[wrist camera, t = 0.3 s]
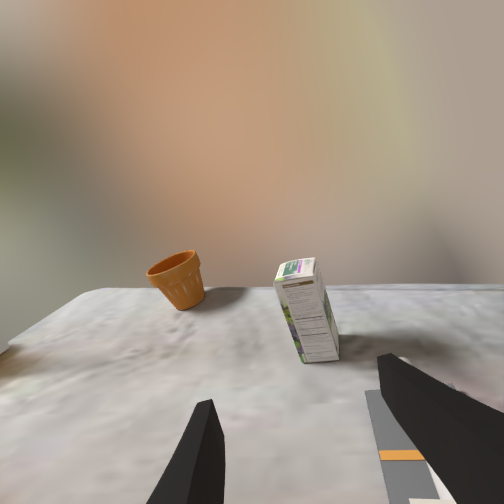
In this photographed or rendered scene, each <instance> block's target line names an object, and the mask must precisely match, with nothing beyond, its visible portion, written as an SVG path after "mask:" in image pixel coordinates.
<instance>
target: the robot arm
mask: <svg viewBox="0 0 504 504" xmlns="http://www.w3.org/2000/svg"><path fill="white" fill-rule="evenodd" d="M377 362H378V371H379V379H380V388H381V396H382V397H383V399H384V401H385V402H386V404H387V406H388V408H389V409H390V411H391V413H392V414H393V416H394V417H395V419H396V421H397V422H398V423H399V425H400V426H401V428H402V429H403V430H404V432H405V433H406V434H407V436H408V437H409V438H410V440H411V441H412V442H413V444H414V445H415V446H416V448H417V449H418V450H419V452H420V453H421V454H422V456H423V457H424V458H425V460H426V461H427V463H428V464H429V465H430V467H431V468H432V469H433V471H434V472H435V473H436V475H437V476H438V477H439V479H440V480H441V481H442V483H443V484H444V486H445V487H446V488H447V490H448V491H449V493H450V494H451V496H452V497H453V499H454V500H455V502H456V503H457V504H504V413H502V412H500V411H498V410H496V409H493V408H491V407H489V406H487V405H485V404H483V403H480V402H478V401H476V400H474V399H472V398H470V397H468V396H466V395H464V394H462V393H460V392H459V391H457V390H455V389H453V388H451V387H449V386H447V385H445V384H444V383H442V382H440V381H438V380H436V379H434V378H433V377H431V376H429V375H427V374H426V373H424V372H422V371H420V370H419V369H417V368H415V367H414V366H412V365H410V364H408V363H407V362H405V361H403V360H402V359H400V358H398V357H397V356H395V355H393V354H391V353H389V354H386V355H382V356H378V357H377ZM224 486H225V442H224V434H223V431H222V428H221V425H220V422H219V419H218V416H217V413H216V410H215V406H214V403H213V400H212V399H210V400H206V401H202V402H198V403H197V405H196V407H195V409H194V411H193V413H192V416H191V418H190V420H189V423H188V425H187V427H186V429H185V431H184V433H183V436H182V438H181V440H180V442H179V444H178V446H177V448H176V450H175V452H174V454H173V456H172V458H171V460H170V462H169V464H168V466H167V467H166V469H165V471H164V473H163V475H162V477H161V478H160V480H159V482H158V484H157V486H156V487H155V489H154V491H153V493H152V494H151V496H150V498H149V499H148V501H147V503H146V504H224Z"/></svg>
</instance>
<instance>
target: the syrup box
mask: <svg viewBox="0 0 504 504" xmlns="http://www.w3.org/2000/svg"><path fill="white" fill-rule="evenodd" d="M273 285H274V288H275V290H276V293H277V296H278V299H279V301H280V304H281V307H282V310H283V312H284V315H285V318H286V321H287V324H288V326H289V329H290V332H291V335H292V337H293V340H294V343H295V346H296V348H297V351H298V354H299V357H300V359H301V362H303V363H309V362H322V361H334V360H339V359H340V356H339V338H338V330H337V327H336V323H335V320H334V316H333V313H332V310H331V306H330V303H329V299H328V296H327V292H326V289H325V286H324V282H323V279H322V276H321V272H320V269H319V266H318V262H317V258H305V259H299V260H294V261H290V262H286V263H283V264H281V265H280V267H279V270H278V273H277V276H276V278H275V281H274V284H273Z"/></svg>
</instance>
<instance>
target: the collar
mask: <svg viewBox="0 0 504 504" xmlns="http://www.w3.org/2000/svg"><path fill="white" fill-rule="evenodd" d="M409 501H410V504H457V503H456V502H455V500H441V499H413V498H409Z"/></svg>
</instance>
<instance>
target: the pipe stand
mask: <svg viewBox="0 0 504 504" xmlns="http://www.w3.org/2000/svg"><path fill="white" fill-rule="evenodd" d="M398 358H400V359H402V360H403V361H405V362H407V363H408V364H410V365H412V363H411V361H410V360H409V359H407V358H405V357H398ZM445 385H447V386H449V387H451V388H453V389H455V387H454V386H453V384H452V383H451V384H445ZM455 390H456V389H455ZM365 395H366V400H367V404H368V409H369V413H370V418H371V422H372V427H373V431H374V435H375V440H376V444H377V449H378V453H379V458H380V462H381V467H382V471H383V476H384V480H385V484H386V489H387V493H388V498H389V502H390V504H410V501H409V498H413V499H441V500H454V499H453V497H452V496H451V494H450V493H449V491H448V490H447V488H446V487H445V486H444V484H443V483H442V481H441V480H440V479H439V477H438V476H437V475H436V473H435V472H434V471H433V469H432V468H431V467H430V465H429V464H428V463H427V461H426V460H425V458H424V457H423V456H422V454H421V453H420V452H419V450H418V449H417V448H416V446H415V445H414V444H413V442H412V441H411V440H410V438H409V437H408V436H407V434H406V433H405V432H404V430H403V429H402V428H401V426H400V425H399V423H398V422H397V421H396V419H395V417H394V416H393V414H392V413H391V411H390V409H389V408H388V406H387V404H386V402H385V401H384V399H383V397H382V396H381V389H380V390H368V391H365Z"/></svg>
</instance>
